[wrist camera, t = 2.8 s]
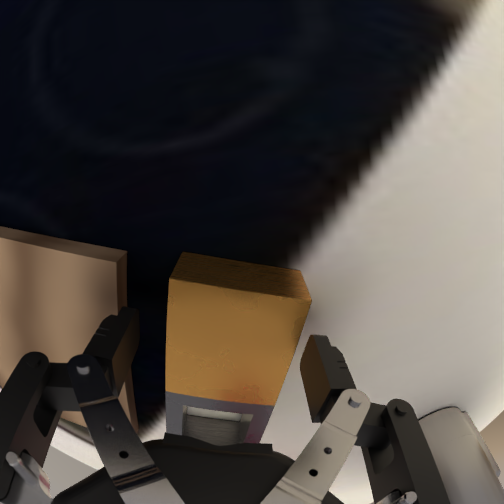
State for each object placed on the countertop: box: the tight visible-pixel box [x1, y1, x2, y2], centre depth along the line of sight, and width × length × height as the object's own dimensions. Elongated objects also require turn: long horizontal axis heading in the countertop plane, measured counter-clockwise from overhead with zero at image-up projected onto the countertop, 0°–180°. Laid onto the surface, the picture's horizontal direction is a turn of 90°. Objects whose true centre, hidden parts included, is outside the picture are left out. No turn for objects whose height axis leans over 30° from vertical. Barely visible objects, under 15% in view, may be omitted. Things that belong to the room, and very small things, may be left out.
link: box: [166, 252, 312, 446], centre depth 16 cm, size 6×14×3 cm, turn 169°
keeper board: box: [0, 226, 139, 433], centre depth 16 cm, size 14×16×2 cm
